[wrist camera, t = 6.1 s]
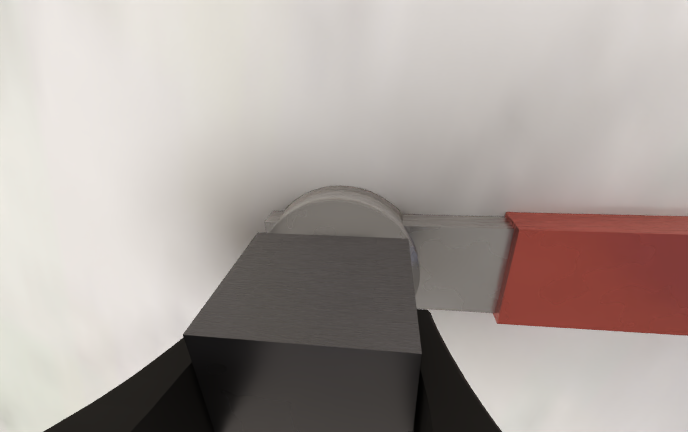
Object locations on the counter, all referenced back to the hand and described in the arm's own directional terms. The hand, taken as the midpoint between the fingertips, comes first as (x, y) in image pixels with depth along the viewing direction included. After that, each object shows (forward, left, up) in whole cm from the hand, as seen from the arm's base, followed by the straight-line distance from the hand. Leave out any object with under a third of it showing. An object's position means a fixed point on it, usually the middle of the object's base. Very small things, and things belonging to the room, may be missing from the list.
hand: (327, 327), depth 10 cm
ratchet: (-6, 0, -5) cm, 8 cm away
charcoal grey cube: (0, 0, -1) cm, 1 cm away
